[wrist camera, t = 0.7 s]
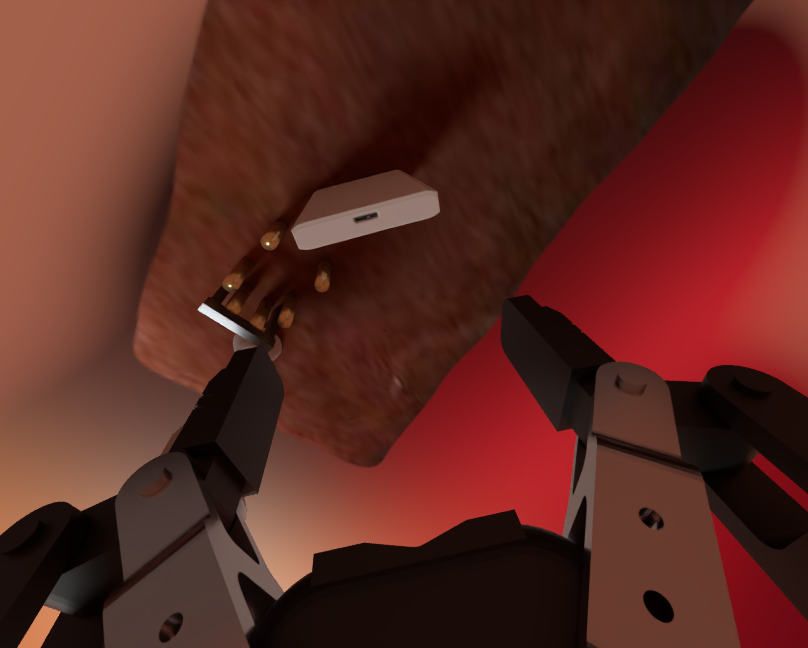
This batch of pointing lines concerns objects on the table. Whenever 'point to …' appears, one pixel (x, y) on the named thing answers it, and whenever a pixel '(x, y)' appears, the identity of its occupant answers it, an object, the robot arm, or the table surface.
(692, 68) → the table surface
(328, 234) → the external hard drive
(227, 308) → the candles
